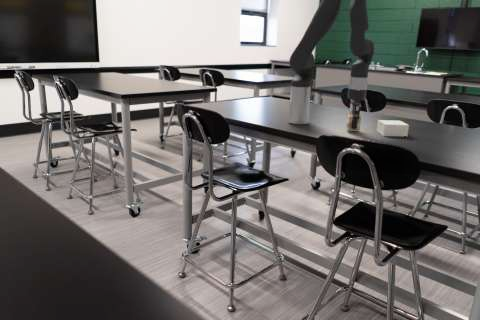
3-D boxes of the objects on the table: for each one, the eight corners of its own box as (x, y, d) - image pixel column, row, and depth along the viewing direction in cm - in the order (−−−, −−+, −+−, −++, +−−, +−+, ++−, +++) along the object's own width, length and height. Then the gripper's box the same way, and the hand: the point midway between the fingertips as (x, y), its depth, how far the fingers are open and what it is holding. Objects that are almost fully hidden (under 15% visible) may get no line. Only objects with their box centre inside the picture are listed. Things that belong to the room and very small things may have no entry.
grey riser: (383, 136, 168) (384, 124, 167) (376, 131, 178) (377, 119, 176) (407, 136, 168) (409, 125, 166) (399, 131, 177) (400, 120, 176)
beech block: (347, 130, 173) (349, 116, 171) (346, 127, 177) (347, 114, 176) (359, 130, 172) (361, 117, 170) (358, 128, 177) (359, 114, 175)
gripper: (346, 85, 177) (342, 123, 182) (350, 89, 163) (345, 130, 168) (364, 86, 176) (359, 124, 181) (369, 90, 162) (364, 131, 167)
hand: (353, 127), depth 174 cm, fingers closed on beech block, 5 cm apart
